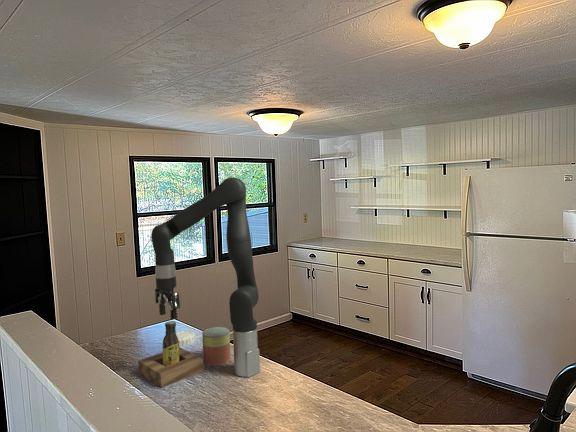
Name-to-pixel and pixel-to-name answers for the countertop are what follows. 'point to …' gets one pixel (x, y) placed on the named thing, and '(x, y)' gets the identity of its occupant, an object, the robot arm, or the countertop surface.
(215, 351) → the canned food
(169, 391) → the countertop surface
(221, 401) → the countertop surface
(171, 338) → the sauce bottle
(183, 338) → the cream scalloped thick disc
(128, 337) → the countertop surface
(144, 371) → the square wooden frame
